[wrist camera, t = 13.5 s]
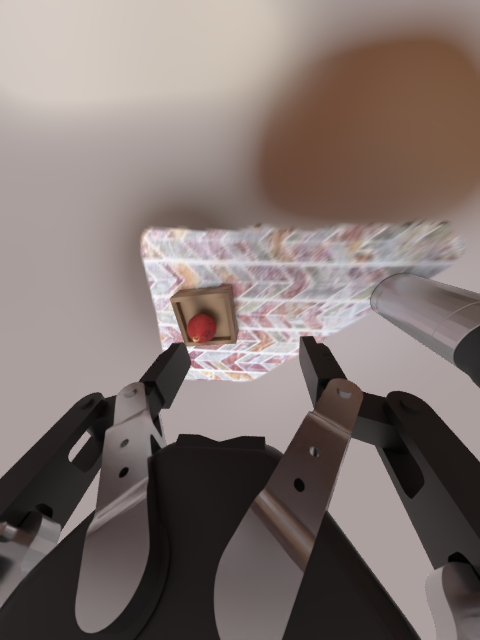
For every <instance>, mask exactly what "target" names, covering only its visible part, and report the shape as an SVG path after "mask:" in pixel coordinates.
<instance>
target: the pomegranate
mask: <svg viewBox="0 0 480 640" xmlns="http://www.w3.org/2000/svg"><path fill="white" fill-rule="evenodd" d="M216 330H217V325H216V323H215V320H214V319H213V318H211V317H210V316H208V315H206V314H198V315H195V316H193V317H192V318H191V319H190V320H189V322H188V325H187V333H188V335H189V337H190V338H191V339H192V340H193V341H194V342H196V343H206V342H208V341H210V340H211V339H212V338H213V337H214V335H215V334H216Z"/></svg>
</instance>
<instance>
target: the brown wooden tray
mask: <svg viewBox="0 0 480 640" xmlns="http://www.w3.org/2000/svg"><path fill="white" fill-rule="evenodd" d="M170 301H171V304H172V307H173V310H174V313H175V316H176V319H177V322H178V325H179V328H180V331H181V334H182V337H183V340H184V343H185V345H186V346H200V345H217V344H235V343H236V341H237V335H238V328H237V321H236V315H235V308H234V301H233V295H232V288H231V285H229V286H219V287H209V288H199V289H189V290H179V291H178V292H177V293H176V294H174V295H173V296H172V297H171V298H170ZM198 314H206V315H208V316H210V317H211V318H213V319H214V320H215V323H216V325H217V330H216V334H215V335H214V337H213V338H212V339H211V340H210V341H208V342H206V343H196V342H194V341H193V340H192V339H191V338H190V337H189V335H188V333H187V325H188V322H189V320H190V319H191V318H192V317H193V316H195V315H198Z"/></svg>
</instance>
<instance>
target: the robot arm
mask: <svg viewBox="0 0 480 640" xmlns="http://www.w3.org/2000/svg"><path fill="white" fill-rule="evenodd" d="M371 306H372V309H373V310H374V311H375V312H376V313H378V314H379V315H381V316H382V317H384V318H385V319H387V320H388V321H389V322H391V323H392V324H394V325H395V326H397V327H398V328H400V329H401V330H403V331H404V332H405V333H407V334H408V335H410V336H411V337H413V338H414V339H416V340H417V341H419V342H420V343H422V344H423V345H425V346H426V347H428V348H429V349H431V350H432V351H433V352H435V353H436V354H438V355H440V356H441V357H442V358H444V359H445V360H447V361H448V362H450V363H451V364H453V365H454V366H456V367H457V368H459V369H460V370H462V371H463V372H465V373H466V374H467V375H469V376H470V377H471V379H472V380H473V382H474V383H475V384H476V385H477V386H478V387H479V388H480V294H478V293H475V292H472V291H468V290H465V289H461V288H458V287H454V286H450V285H447V284H443V283H440V282H436V281H433V280H430V279H426V278H423V277H419V276H416V275H412V274H407V273H404V274H397V275H394V276H391V277H389V278H387V279H386V280H384V281H383V282H382V283H381V284H379V285H378V287H377V288H376V289H375V291H374V292H373V294H372V297H371ZM299 360H300V365H301V368H302V372H303V375H304V378H305V381H306V384H307V388H308V391H309V394H310V398H311V400H312V404H313V407H314V410H313V411H312V412H308V413H307V415H306V417H305V418H304V420H303V422H302V424H301V425H300V427H299V429H298V430H297V432H296V434H295V436H294V437H293V439H292V441H291V443H290V444H289V446H288V448H287V450H286V451H285V453H284V454H283V453H281V452H280V451H279V450H277V449H275V448H273V447H271V446H269V445H266V443H265V437H257V436H241V437H237V438H233V439H229V440H225V441H221V442H218V441H215V440H212V439H210V438H207V437H204V436H201V435H193V434H179V436H178V439H177V441H176V442H174V443H172V444H170V445H167V444H166V440H165V435H164V430H163V425H162V419H161V415H160V413H159V412H160V410H161V409H169V408H170V406H171V404H172V402H173V400H174V398H175V396H176V394H177V392H178V390H179V388H180V386H181V384H182V382H183V380H184V378H185V376H186V374H187V372H188V370H189V368H190V365H191V360H190V356H189V354H188V351H187V348H186V345H185V343H183V342H181V343H172V344H171V346H170V347H169V348H168V350H166V351H164V352H163V353H162V354H160V355H159V356H158V358H157V359H156V361H155V362H154V363H153V364H152V366H150V368H149V369H148V370H147V372H146V373H145V374H144V375H143V377H142V378H141V379H140V381H139V382H135V383H131V384H129V385H127V386H126V387H124V388H123V389H122V390H121V391H120V392H119V393H118V394H117V395H115V396H112V397H108V398H104V397H103V395H102V394H101V393H99V392H97V393H92V394H89V395H87V396H85V397H84V398H82V399H81V400H79V401H78V402H77V403H76V404H75V405H74V406H73V407H72V408H71V409H70V410H69V411H68V412H67V413H66V414H65V415H64V416H63V417H62V418H61V419H60V420H59V421H58V422H57V423H56V424H55V425H54V426H53V427H52V428H51V429H50V430H49V431H48V432H47V433H46V434H45V435H44V436H43V437H42V438H41V439H40V440H39V441H38V442H37V443H36V444H35V445H34V446H33V447H32V448H31V449H30V450H29V451H28V452H27V453H26V454H25V455H24V456H23V457H22V458H21V459H20V460H19V461H18V462H17V463H16V464H15V465H14V466H13V467H12V468H11V469H10V470H9V471H8V472H7V473H6V474H5V475H4V476H3V477H2V478H1V479H0V640H421V638H420V637H419V635H418V634H417V632H416V631H415V629H414V628H413V626H412V625H411V624H410V622H409V621H408V620H407V618H406V617H405V615H404V614H403V613H402V611H401V610H400V608H399V607H398V606H397V604H396V603H395V602H394V601H393V599H392V598H391V596H390V595H389V594H388V592H387V591H386V590H385V588H384V587H383V585H382V584H381V583H380V581H379V580H378V579H377V577H376V576H375V575H374V573H373V572H372V570H371V569H370V568H369V566H368V565H367V564H366V562H365V561H364V560H363V558H362V557H361V555H360V554H359V553H358V551H357V550H356V549H355V547H354V546H353V545H352V543H351V542H350V541H349V539H348V538H347V537H346V535H345V534H344V532H343V531H342V530H341V528H340V527H339V526H338V524H337V523H336V522H335V520H334V519H333V517H332V516H331V515H330V513H329V512H328V511H327V510H328V507H329V504H330V501H331V498H332V495H333V492H334V489H335V486H336V482H337V480H338V476H339V473H340V470H341V467H342V464H343V460H344V458H345V455H346V451H347V448H348V445H349V442H350V439H351V437H352V438H355V439H358V440H360V441H363V442H366V443H370V444H372V445H375V447H376V449H377V451H378V453H379V455H380V457H381V459H382V461H383V463H384V465H385V468H386V469H387V472H388V474H389V476H390V478H391V480H392V482H393V484H394V486H395V488H396V490H397V493H398V494H399V497H400V499H401V501H402V503H403V505H404V507H405V509H406V511H407V513H408V516H409V517H410V520H411V522H412V524H413V526H414V528H415V530H416V532H417V534H418V536H419V538H420V540H421V543H422V545H423V547H424V549H425V551H426V553H427V555H428V557H429V559H430V561H431V563H432V566H433V568H434V571H432V572H431V573H429V575H428V576H427V578H426V583H425V590H426V596H427V601H428V604H429V607H430V610H431V613H432V616H433V619H434V623H435V628H436V635H437V640H480V462H479V461H478V459H477V458H476V457H475V456H474V455H473V454H472V453H471V452H470V451H469V450H468V448H467V447H466V446H465V445H464V444H463V443H462V442H461V440H460V439H459V438H458V437H457V436H456V435H455V434H454V433H453V432H452V430H450V428H449V427H448V426H447V425H446V424H445V423H444V421H443V420H442V419H441V418H440V417H439V416H438V415H437V414H436V413H435V411H434V410H433V409H432V408H431V407H430V406H429V405H428V404H427V403H426V402H425V401H423V400H422V399H420V398H418V397H416V396H415V395H412V394H410V393H407V392H402V391H392V392H390V393H389V394H388V395H387V397H382V396H377V395H373V394H369V393H366V392H363V391H362V390H361V389H360V388H359V387H358V386H357V385H356V384H355V383H353V382H351V381H349V380H347V378H346V376H345V374H344V373H343V371H342V369H341V368H340V366H339V365H338V363H337V361H336V360H335V358H334V356H333V355H332V353H331V351H330V349H329V348H328V347H327V346H325V345H324V344H323V343H316V341H315V339H314V337H313V336H301V337H300V347H299ZM85 431H87V432H88V433H89V434H90V435H91V437H90V438H89V440H88V441H87V442H86V444H85V445H84V446H83V447H82V449H81V450H80V451H79V453H78V454H77V455H76V457H75V458H74V459H73V461H72V462H70V461H69V459H68V455H69V452H70V450H71V449H72V447H73V446H74V445H75V444H76V442H77V441H78V440H79V439H80V437H81V436H82V435H83V434H84V432H85ZM100 468H101V471H100V479H99V487H98V494H97V503H96V509H95V510H94V511H93V512H92V513H91V514H90V515H89V516H88V517H87V518H86V519H84V520H83V521H82V522H81V523H80V524H79V525H78V526H77V527H76V528H75V529H74V530H73V531H72V532H71V533H70V534H68V535H67V536H66V537H65V538H64V539H63V540H62V541H61V542H60V543H59V544H57V542H58V540H59V537H60V533H61V531H62V529H63V528H64V526H65V524H66V523H67V521H68V519H69V518H70V516H71V515H72V513H73V511H74V510H75V508H76V507H77V505H78V503H79V502H80V500H81V499H82V497H83V495H84V494H85V492H86V490H87V489H88V487H89V486H90V484H91V482H92V481H93V479H94V478H95V476H96V474H97V473H98V471H99V469H100Z"/></svg>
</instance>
